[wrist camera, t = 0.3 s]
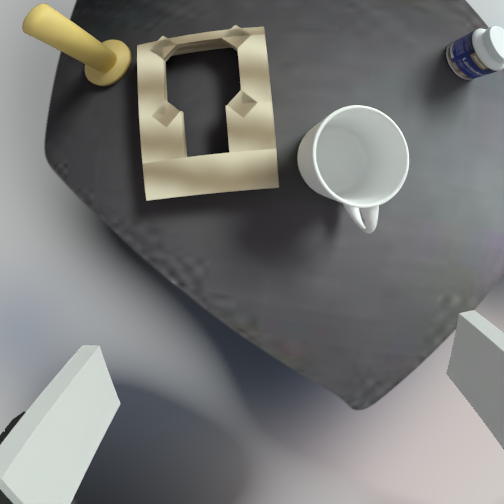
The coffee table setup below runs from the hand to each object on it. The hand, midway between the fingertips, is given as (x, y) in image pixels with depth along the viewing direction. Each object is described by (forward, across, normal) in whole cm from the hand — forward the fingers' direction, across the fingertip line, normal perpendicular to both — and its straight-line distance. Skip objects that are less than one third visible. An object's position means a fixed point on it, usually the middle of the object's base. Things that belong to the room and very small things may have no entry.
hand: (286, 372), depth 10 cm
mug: (+27, +9, +6) cm, 29 cm away
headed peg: (+27, -17, +23) cm, 39 cm away
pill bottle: (+28, +29, +21) cm, 45 cm away
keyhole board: (+27, -5, +14) cm, 31 cm away
